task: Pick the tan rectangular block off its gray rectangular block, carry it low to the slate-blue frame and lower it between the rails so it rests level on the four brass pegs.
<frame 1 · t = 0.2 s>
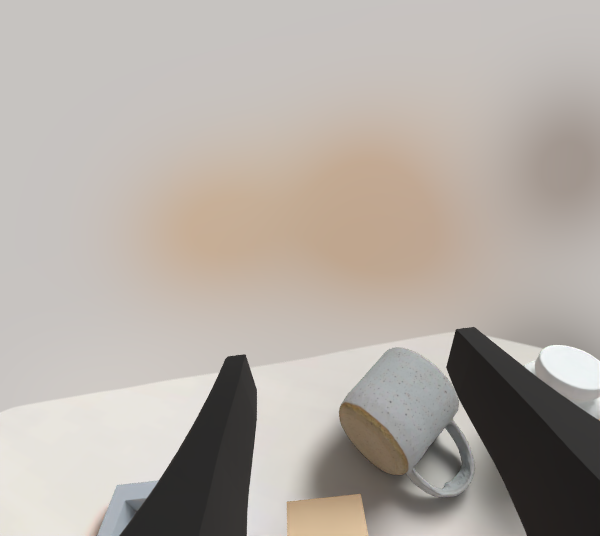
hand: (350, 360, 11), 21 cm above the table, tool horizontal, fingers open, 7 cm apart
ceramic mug: (407, 440, 29), on the table
supplement bottle: (532, 436, 28), on the table
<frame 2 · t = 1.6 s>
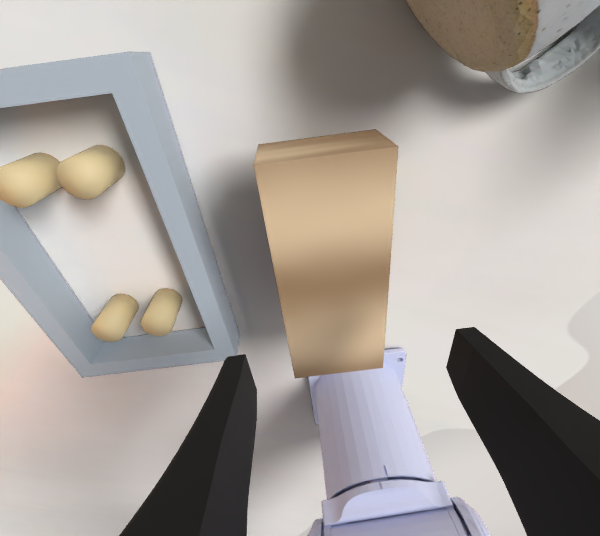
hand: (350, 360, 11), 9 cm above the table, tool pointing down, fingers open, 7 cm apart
peg frame: (116, 243, 18), on the table
tan rectangular block: (325, 255, 16), point 2 cm above the table, touching gray rectangular block
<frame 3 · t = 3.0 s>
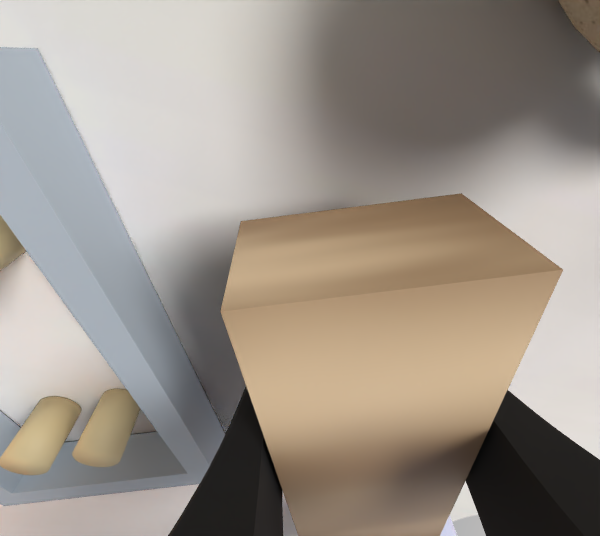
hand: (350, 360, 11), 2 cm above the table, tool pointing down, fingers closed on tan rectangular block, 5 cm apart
peg frame: (34, 338, 12), on the table
tan rectangular block: (353, 372, 10), point 2 cm above the table, touching gripper, gray rectangular block
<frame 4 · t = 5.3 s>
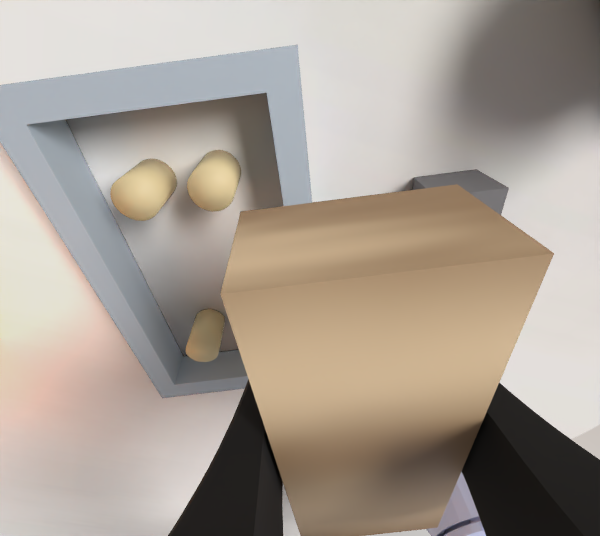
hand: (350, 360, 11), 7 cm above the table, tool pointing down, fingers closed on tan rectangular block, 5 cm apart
peg frame: (214, 256, 17), on the table
tan rectangular block: (351, 364, 10), point 8 cm above the table, touching gripper
gray rectangular block: (433, 245, 17), on the table
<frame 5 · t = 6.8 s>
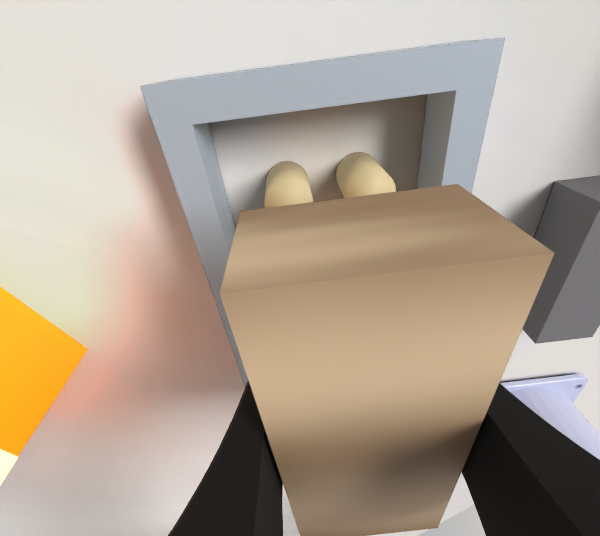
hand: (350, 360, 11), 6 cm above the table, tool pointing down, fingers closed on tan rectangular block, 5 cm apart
peg frame: (328, 264, 16), on the table
tan rectangular block: (351, 364, 10), point 6 cm above the table, touching gripper
gray rectangular block: (556, 252, 16), on the table
when the fingers open (3 cm above the table, at t = 7.9 s): tan rectangular block stays where it is, resting on peg frame.
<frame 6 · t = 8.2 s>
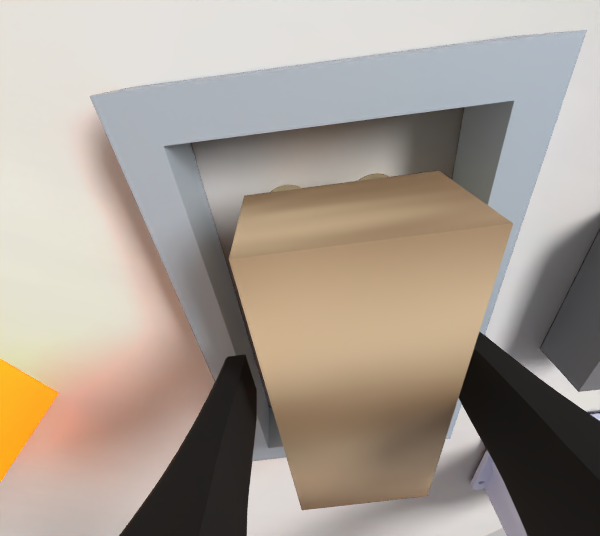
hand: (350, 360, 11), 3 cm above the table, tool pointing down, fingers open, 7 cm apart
peg frame: (336, 300, 13), on the table
tan rectangular block: (346, 342, 11), point 2 cm above the table, touching peg frame
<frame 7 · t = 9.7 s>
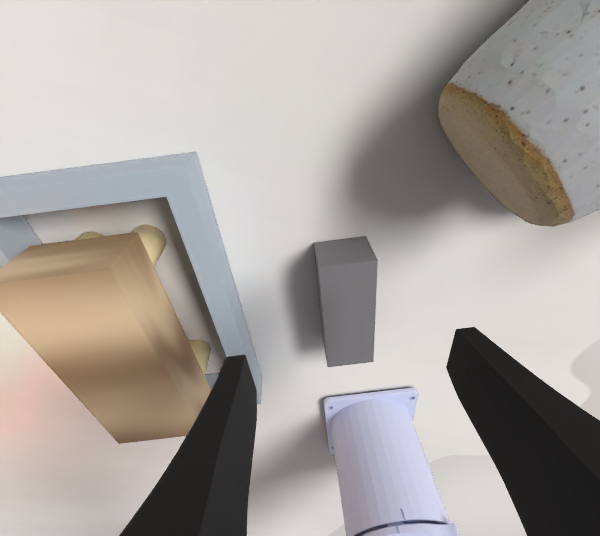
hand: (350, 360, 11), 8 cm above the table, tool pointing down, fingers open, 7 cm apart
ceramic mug: (539, 97, 14), on the table
peg frame: (153, 304, 20), on the table
tan rectangular block: (137, 331, 17), point 2 cm above the table, touching peg frame
gray rectangular block: (342, 293, 20), on the table
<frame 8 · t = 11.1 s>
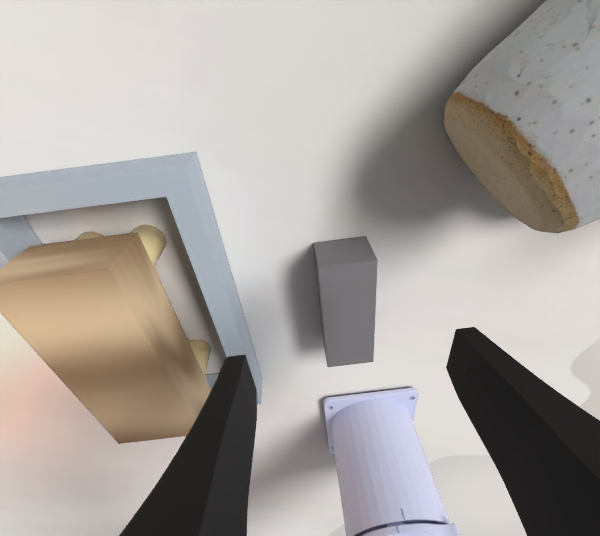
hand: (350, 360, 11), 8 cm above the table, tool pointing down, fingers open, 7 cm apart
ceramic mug: (542, 104, 15), on the table
peg frame: (153, 304, 20), on the table
tan rectangular block: (137, 331, 17), point 2 cm above the table, touching peg frame
gray rectangular block: (341, 293, 20), on the table
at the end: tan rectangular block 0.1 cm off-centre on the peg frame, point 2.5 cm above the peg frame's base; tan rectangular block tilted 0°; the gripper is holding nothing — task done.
